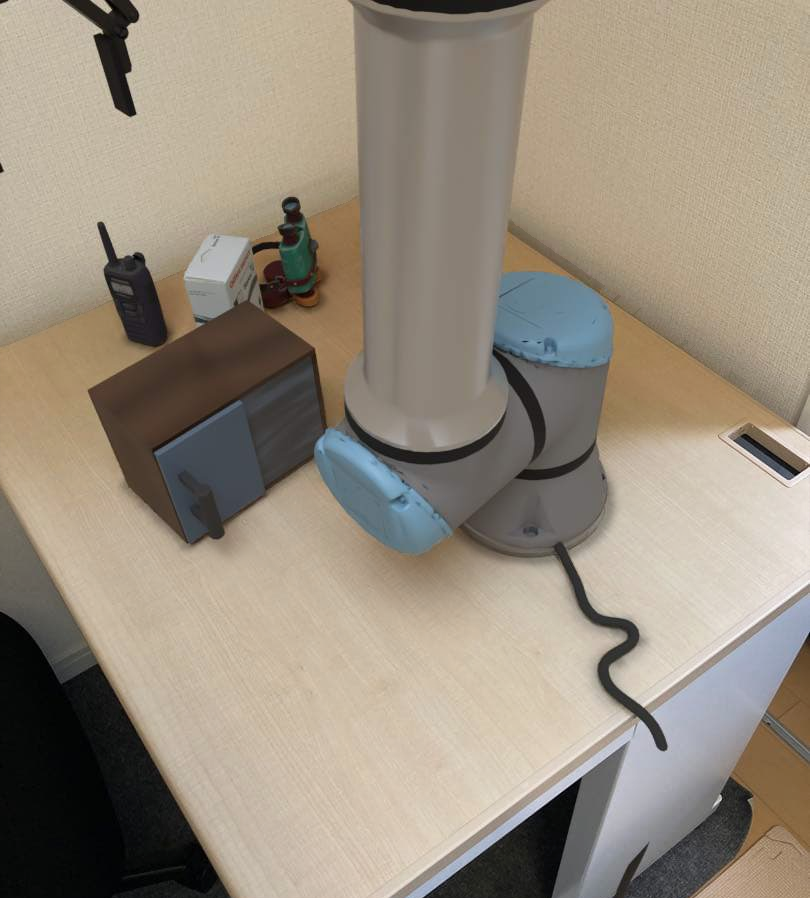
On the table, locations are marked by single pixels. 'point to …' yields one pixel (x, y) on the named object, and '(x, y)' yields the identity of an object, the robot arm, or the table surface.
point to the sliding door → (212, 472)
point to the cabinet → (215, 399)
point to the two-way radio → (133, 294)
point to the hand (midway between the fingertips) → (62, 139)
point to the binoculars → (291, 261)
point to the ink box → (221, 277)
